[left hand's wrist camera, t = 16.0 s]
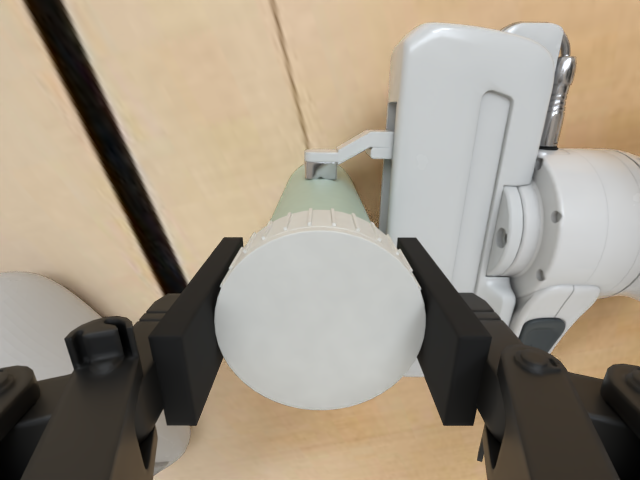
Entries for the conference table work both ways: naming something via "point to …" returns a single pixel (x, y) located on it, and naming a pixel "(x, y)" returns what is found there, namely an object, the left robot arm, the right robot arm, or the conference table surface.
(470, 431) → the conference table surface
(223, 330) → the lid
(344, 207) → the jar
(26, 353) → the projector
